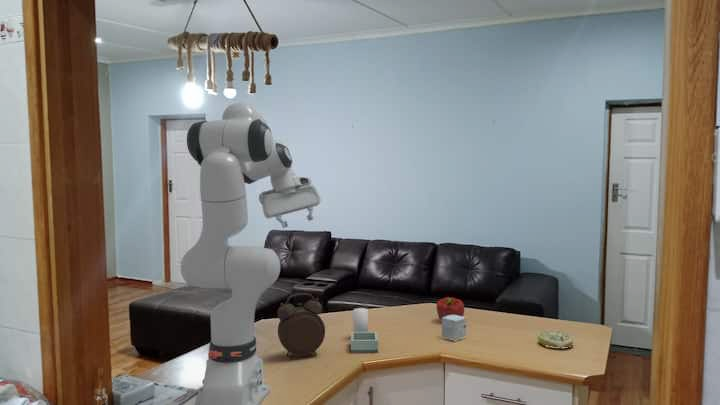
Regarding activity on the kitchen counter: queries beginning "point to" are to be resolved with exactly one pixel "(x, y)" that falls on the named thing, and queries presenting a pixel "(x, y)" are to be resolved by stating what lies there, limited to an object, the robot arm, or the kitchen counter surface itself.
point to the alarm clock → (301, 326)
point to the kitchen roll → (360, 319)
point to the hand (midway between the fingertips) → (298, 223)
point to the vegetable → (450, 307)
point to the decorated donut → (555, 339)
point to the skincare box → (453, 327)
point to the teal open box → (364, 342)
